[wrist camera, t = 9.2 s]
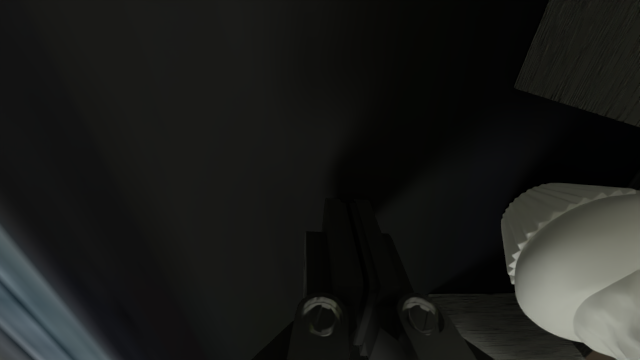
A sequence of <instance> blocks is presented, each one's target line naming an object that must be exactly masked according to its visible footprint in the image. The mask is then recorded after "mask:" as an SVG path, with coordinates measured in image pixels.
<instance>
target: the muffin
mask: <svg viewBox="0 0 640 360" xmlns="http://www.w3.org/2000/svg"><path fill="white" fill-rule="evenodd" d="M505 211H506V212H505V213H504V214H503V215H502V216H503V218H502V220H501V230H502V237H503V244H504V252H505V259H506V266H507V272H508V275H510V280H511V283H512V284H515V294H516V298H517V301H518V303H519V305H520V307H521V309H522V310H523V312H524V313H525V314H526V315H527V316H528V317H529V318H530V319H531V320H532V321H533V322H534V323H536V324H537V325H538V326H540V327H541V328H543V329H544V330H546V331H548V332H550V333H552V334H554V335H557V336H559V337H562V338H565V339H569V340H573V341H577V342H583V343H584V344H586V345H587V346H588V347H590V348H591V349H593V350H594V351H597V352H599V353H602V354H605V355H608V356H611V357H614V358H615V359H617V360H640V191H639V190H634V189H630V188H618V187H606V186H593V185H581V184H568V183H548V184H541V185H540V186H538V187H536V186H535V187H533V188H532V189H528V190H527V191H526V192H525V193H521V195H520V196H519V197H518V198H515V199H514V201H513V202H512V203H510V204H509V207H508V208H507V209H505Z"/></svg>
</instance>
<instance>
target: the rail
mask: <svg viewBox="0 0 640 360" xmlns="http://www.w3.org/2000/svg"><path fill="white" fill-rule="evenodd" d="M513 88H516V89H519V90H522V91H525V92H528V93H532V94H535V95H538V96H541V97H545V98H548V99H551V100H554V101H557V102H561V103H564V104H567V105H570V106H573V107H577V108H580V109H583V110H586V111H589V112H593V113H596V114H599V115H602V116H605V117H609V118H612V119H615V120H618V121H621V122H625V123H628V124H631V125H634V126H638V127H640V0H549V2H548V4H547V7H546V9H545V12H544V14H543V17H542V19H541V22H540V24H539V26H538V29H537V31H536V34H535V36H534V39H533V41H532V44H531V46H530V48H529V51H528V53H527V56H526V58H525V61H524V63H523V65H522V68H521V70H520V73H519V75H518V78H517V80H516V83H515V85H514V87H513ZM626 188H630V189H634V190H639V191H640V169H639V171H638V172H637V173H636V175H635V176H634V177H633V179H632V180H631V181H630V183H629V184H628V185H627V187H626ZM428 297H430V298H432V299H434V300H435V301H436V302H437V303H439V304H440V305H441V306H442V308H443V309H444V310H445V311H446V313H447V314H448V316H449V317H450V319H451V320H452V322H453V323H454V325H455V327H456V328H457V330H458V331H459V333H460V334H461V336H462V337H463V338H464V339H466V340H467V341H469V342H470V343H472V344H473V345H475V346H476V347H477V348H479V349H480V350H482V351H483V352H485V353H486V354H488V355H489V356H491V357H492V358H494V359H495V360H617V359H615V358H614V357H611V356H608V355H605V354H602V353H599V352H597V351H594V350H593V349H591V348H590V347H588V346H587V345H586V344H584V343H583V342H577V341H573V340H569V339H565V338H562V337H559V336H557V335H554V334H552V333H550V332H548V331H546V330H544V329H543V328H541V327H540V326H538V325H537V324H536V323H534V322H533V321H532V320H531V319H530V318H529V317H528V316H527V315H526V314H525V313H524V312H523V310H522V309H521V307H520V305H519V303H518V301H517V298H516V294H515V293H495V294H429V295H428Z"/></svg>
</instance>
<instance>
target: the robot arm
mask: <svg viewBox="0 0 640 360" xmlns="http://www.w3.org/2000/svg"><path fill="white" fill-rule="evenodd" d="M353 344H354V345H359V351H360V356H368V360H495V359H494V358H492V357H491V356H489V355H488V354H486V353H485V352H483V351H482V350H480V349H479V348H477V347H476V346H475V345H473V344H472V343H470V342H469V341H467V340H466V339H464V338H463V337H462V336H461V334H460V333H459V331H458V330H457V328H456V327H455V325H454V323H453V322H452V320H451V319H450V317H449V316H448V314H447V313H446V311H445V310H444V309H443V308H442V306H441V305H440V304H439V303H437V302H436V301H435V300H434V299H432V298H430V297H428V296H426V295H423V294H419V293H414V291H413V289H412V287H411V284H410V282H409V279H408V277H407V274H406V272H405V270H404V267H403V265H402V262H401V260H400V257H399V255H398V253H397V250H396V248H395V245H394V243H393V240H392V238H391V236H390V235H389V234H381V231H380V228H379V225H378V223H377V220H376V217H375V215H374V212H373V209H372V207H371V204H370V201H369V200H359V199H354V201H353V203H349V204H348V209H347V207H346V204H345V203H342V202H341V200H340V199H334V198H326V199H325V206H324V215H323V224H322V232H305V243H304V298H303V299H302V300H301V302H300V303H299V304H298V307H297V309H296V313H295V318H294V321H293V322H291V323H290V324H289V325H288V326H287V327H286V328H285V329H284V330H283V331H282V332H281V333H280V334H278V335H277V336H276V337H275V338H274V339H273V340H272V341H271V342H270V343H269V344H268V345H267V346H266V347H264V348H263V349H262V350H261V351H260V352H259V353H258V354H257V355H256V356H255V357H254V358H253V359H251V360H349V357H350V354H351V350H352V346H353Z"/></svg>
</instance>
